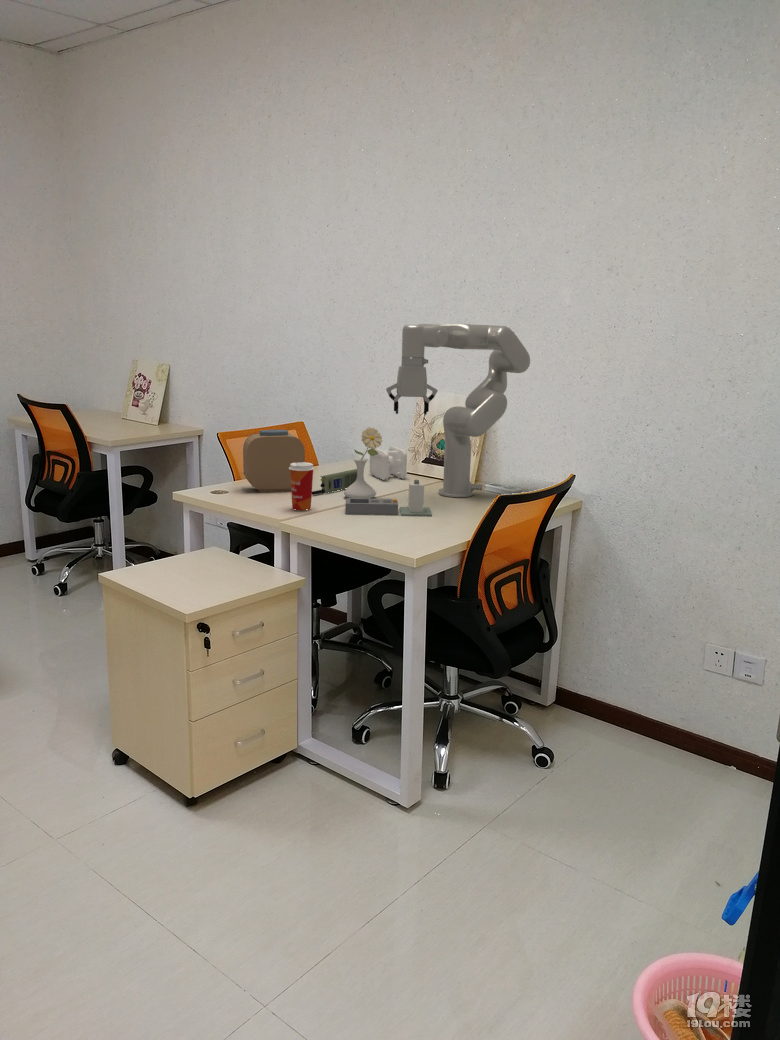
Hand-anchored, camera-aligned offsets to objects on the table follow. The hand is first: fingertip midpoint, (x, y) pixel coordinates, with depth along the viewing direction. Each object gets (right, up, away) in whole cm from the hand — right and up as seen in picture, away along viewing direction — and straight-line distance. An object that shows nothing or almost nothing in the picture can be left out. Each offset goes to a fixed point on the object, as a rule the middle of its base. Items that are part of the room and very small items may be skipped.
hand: (411, 413), depth 282 cm
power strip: (-13, -33, -10) cm, 37 cm away
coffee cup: (-36, -33, -8) cm, 50 cm away
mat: (+1, -34, -9) cm, 35 cm away
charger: (+1, -33, -9) cm, 34 cm away
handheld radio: (-27, -26, +20) cm, 42 cm away
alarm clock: (-49, -25, +19) cm, 59 cm away
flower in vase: (-17, -29, +10) cm, 35 cm away
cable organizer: (-8, -20, +46) cm, 51 cm away
